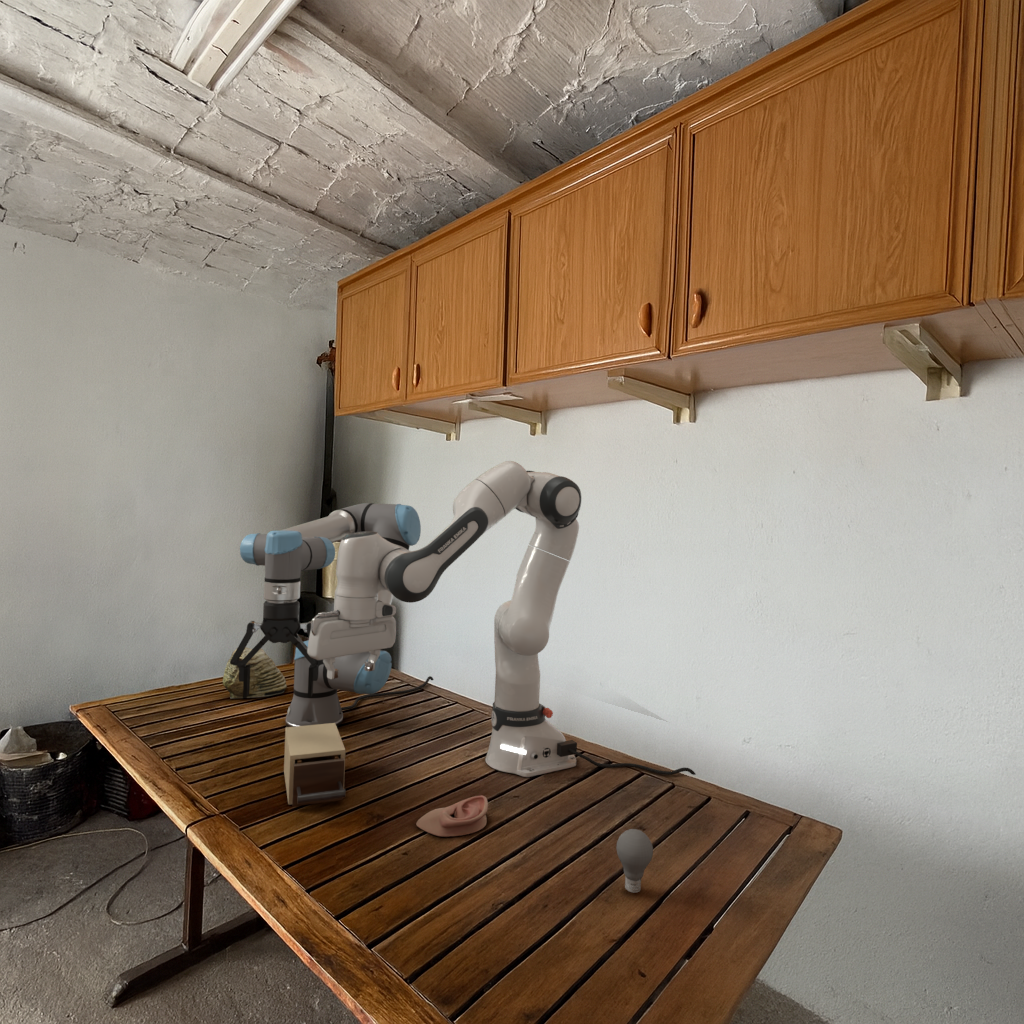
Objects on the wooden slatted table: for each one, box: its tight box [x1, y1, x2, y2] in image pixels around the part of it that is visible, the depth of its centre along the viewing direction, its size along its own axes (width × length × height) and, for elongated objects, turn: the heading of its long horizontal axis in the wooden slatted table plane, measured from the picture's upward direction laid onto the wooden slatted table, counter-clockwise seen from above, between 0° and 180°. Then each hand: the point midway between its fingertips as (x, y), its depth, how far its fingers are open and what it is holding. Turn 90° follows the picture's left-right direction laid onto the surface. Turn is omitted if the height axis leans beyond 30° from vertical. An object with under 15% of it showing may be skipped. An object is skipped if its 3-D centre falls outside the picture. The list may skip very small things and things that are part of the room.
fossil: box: [222, 646, 288, 699], centre depth 198 cm, size 9×18×15 cm, turn 132°
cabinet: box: [283, 723, 346, 806], centre depth 139 cm, size 17×11×10 cm, turn 23°
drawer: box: [291, 755, 347, 808], centre depth 133 cm, size 21×10×8 cm, turn 23°
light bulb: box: [615, 828, 654, 894], centre depth 106 cm, size 6×6×10 cm
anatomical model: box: [415, 795, 489, 838], centre depth 125 cm, size 13×4×12 cm
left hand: (278, 695), depth 141 cm, fingers open, 13 cm apart
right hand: (351, 674), depth 133 cm, fingers open, 8 cm apart
